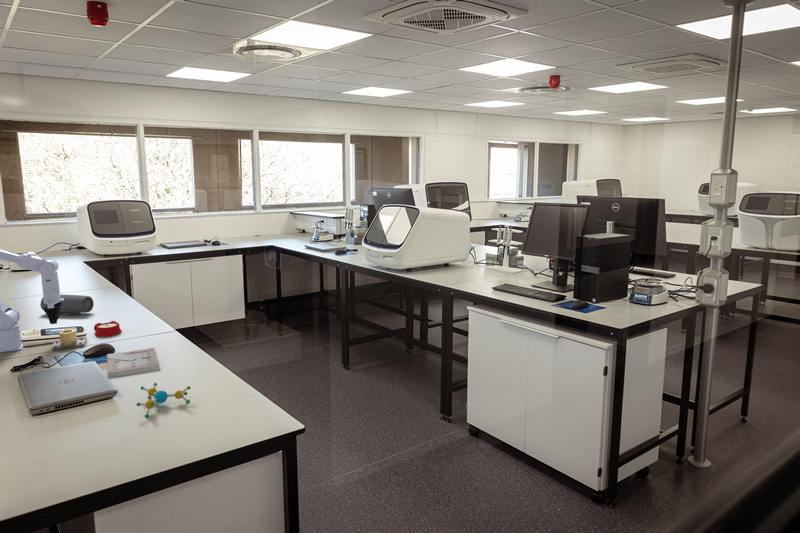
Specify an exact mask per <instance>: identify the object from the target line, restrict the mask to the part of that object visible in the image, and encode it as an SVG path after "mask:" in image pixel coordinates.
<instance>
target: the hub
mask: <svg viewBox="0 0 800 533" xmlns="http://www.w3.org/2000/svg"><path fill="white" fill-rule="evenodd" d="M58 335H59V342H60V345H72V344H74V343H77V338H78V337H77V330H76V329H74V328H73V329H72V328H71V329H69V328H68V329H64V330H61V331H59V332H58Z"/></svg>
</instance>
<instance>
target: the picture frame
mask: <svg viewBox="0 0 800 533" xmlns="http://www.w3.org/2000/svg"><path fill="white" fill-rule="evenodd" d="M155 349H156V348H155V347H152V348H144V349H138V350H131V351H129V350H128V351H125V352H124V351H123V352H114V353H107V354H106V358H107V360H106V361H107V365H106V366H107V370H106V371H107V378H113V377H120V376H125V375H126V376H127V375H132V374H138V373H144V372H151V371H152V372H153V371H157V370H160V363H159V360H158V356H157V353H156V350H155Z"/></svg>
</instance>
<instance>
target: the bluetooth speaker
mask: <svg viewBox="0 0 800 533" xmlns="http://www.w3.org/2000/svg"><path fill="white" fill-rule="evenodd" d="M60 298H61V299H62V298H64V301H62V304H61V307H60V313H59V315H62V314H66V315H68V316H70V315H71V316H77V315H79V314H82V313H83V314H84V313H85V314H86V313H89V312H91V311H93V309H94V306H95V304H94V300H93V298H92V296H89V295H82V294H81V295H79V294H60ZM43 301H44V297H43V296H42V298H41V300H40V308H41V310H42V311H44V310H43V308H44V307H47V305H46V304H45V303H44V302H43ZM66 315H65V316H66Z"/></svg>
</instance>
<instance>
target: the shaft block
mask: <svg viewBox="0 0 800 533" xmlns="http://www.w3.org/2000/svg"><path fill="white" fill-rule="evenodd" d="M85 343H86V338H85V337H84V338H78V339H77V343H74V344H72V345H60V341H55V342H53V343H52V347H51V351H60V350H69V349H76V348H83V347H85V345H86V344H85Z"/></svg>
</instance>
